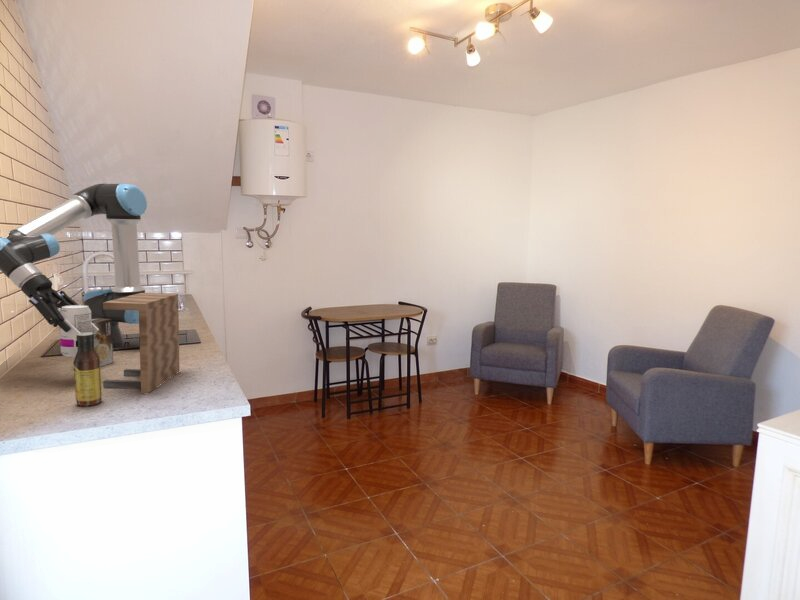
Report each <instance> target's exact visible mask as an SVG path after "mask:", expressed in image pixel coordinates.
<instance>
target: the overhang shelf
mask: <svg viewBox="0 0 800 600" xmlns="http://www.w3.org/2000/svg"><path fill="white" fill-rule="evenodd" d="M103 309H108V310H139V324H138V331H139V332H138V333H139V334H138V335H139V366H140V368H125V369H123V376H124V377H140V380H133V379H132V380H131V379H130V380H125V379H105V380H103V381H102V387H103V388H106V389H110V388H111V389H140V394H141V393H149V392H150V391H152V390H153V389H154V390H156V389H157V388H158V387H157V386H159V385H160V384H162V383H163V382H164V381H166V380H167V379H169V378H170V377H171V378H173V377H174V376H176V375H177V374H178V373H177V372H179V371H180V328H179V327H180V326H179V325H180V324H179V322H180V321H179V315H180V314H179V293H167V292H166V293H161V292H157V293H156V292H145V293H138V294H134V295H131V296H127V297H123V298H119V299H115V300H111V301H107V302H103ZM180 372H181V371H180ZM180 372H179V373H180ZM176 373H177V374H176ZM175 374H176V375H175ZM173 375H174V376H173ZM172 376H173V377H172ZM171 378H170V379H171ZM170 379H169V380H170ZM167 381H168V380H167ZM167 381H166V382H167ZM164 383H165V382H164ZM164 383H163V384H164ZM163 384H162V385H163ZM160 386H161V385H160ZM160 386H159V387H160ZM156 387H157V388H156ZM103 388H102V389H103ZM155 388H156V389H155ZM154 390H153V391H154ZM153 391H152V392H153ZM150 393H151V392H150ZM150 393H149V394H150Z"/></svg>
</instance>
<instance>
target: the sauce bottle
mask: <svg viewBox="0 0 800 600" xmlns="http://www.w3.org/2000/svg"><path fill="white" fill-rule="evenodd" d="M76 336H77V337H76V339H77V341H78V348H77V349H78V351H77V354H76V357H75V358H74V360H73V362H72V363H73V364H72V365H73V379H74V383H73V384H74V395H75V401H76V404H77V406H79V405H80V406H82V407H90V406H89V405H92V406H95V405H98V404H100V403H101V402H102V399H103V398H102V396H103V390H102V389H103V388H102V387H103V384H102V373H101V367H100V358H99V355H98V354H97V353H96V351H95V350H94V341H93V339H94V333H92V332H84V333H78V334H77V335H76Z"/></svg>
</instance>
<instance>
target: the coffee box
mask: <svg viewBox="0 0 800 600" xmlns="http://www.w3.org/2000/svg"><path fill="white" fill-rule="evenodd" d="M91 322H92V323H93V324H94V325H95V326H96V327H97V328H98V329H99V330H98V331H97V332H96V333H95V334H94V339H93V341H94V350H95V351H96V353H97V354H98V355H99V358H100V368H101V367H104V366H106V365H110V364H113V363H114V348H113V341H112V322H111V319H104V318H94V319H91Z"/></svg>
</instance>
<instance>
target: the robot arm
mask: <svg viewBox="0 0 800 600" xmlns="http://www.w3.org/2000/svg"><path fill="white" fill-rule="evenodd" d="M147 207H148V201H147V197H146V196H145V193H144V192H143V191H142V190H141V188H140V187H138V186H137V185H134V184H129V183H96V184H93V185H90V186H88V187H86V188H83V189H82V190H79V191H77V192H75V193H74V194H71V195H69V196H68V198H67V201H65V202H63V203H60V204H59V205H57V206H55V207H53V208H52V209H50V210H48V211H46V212H44V213H42V214H40V215H38V216H36V217H34V218H33V219H31V220H29V221H27V222H24V223H23V224H21V225H19V226H17V227H16V228H13V229H12V230H9V231H10V233H9V236H8V237H7V238H2V237H0V272H2V273H3V274H4V275H5V277H7V278H8V279H9V280H10V281H11V282H12V283H13V285H14V286H16V287H18V289H20V290H21V292H22V293H23V294H24V295H26V297H28V298H29V300H28V302H29V303H30V304H31V305H32V306H34V307H35V309H36V310H37V311H38V312H39V313H40V315H41V316H42V318H44V319H45V320H46V322H47V323H48V324H49V325H51V326H52V327H54V328H57V327H59V328H60V327H61V328H62V329H63V330H64V331H65V332H66V333H67V334H68V335H69V336H70V337H71V338H72V339H73V340H74V341H77V339H76V337H77V336H76V335H77V334H78V333H80V332H79V331H78V330H77V329H76V328H75V327H74V326H73V325H72V324H71V323H70V322H69V321H68V320H67V319H65V320H64V319H63V317H62V315H61V314H60V310H59V309H58V308H60V309H61V308H62V307H63V306H69V305H79V304H78V303H77V302H76V301H75V300H74V299H72V298H71V297H69V295H67V293H66V292H65V291H64V290H60V291H59V292H58V291H57V290H55V289H53V288H52V286H53V282H52V281H51V280H50V279H49V278H48V276H46V275H45V274H43V272H42V271H41V270H40V269H39V267H37V266H36V265H35V264H34V263H37V262H39V261H44V260H47V259H50V258H52V257H55V256H56V255H58V254H59V253H60V249H61V246H60V244H59V241H58V239H57V238H56V236H54V235H56V234H57V233H59V232H61V231H63V230H64V229H66V228H68V227H70V226H71V225H74V223H77V222H78V221H80V220H81V219H84V220H87V219H90V218H91V217H93V216H98V215H105V219H106V221H108V222H109V223H110V225H111V237H112V253H113V254H112V255H113V267H114V279H115V280H114V282H115V286H114V287H113V288H105V289H95V290H89V291H86V292H85V293H84V294H83V305H86V306H89V308H90V310H91V319H94V318H104V319H111V322H112V341H113V349H114V348H119V347H122V346H124V345H125V339H124V336H123V334H122V333H123V332H121V328H120V326H119V323H121V324H122V323H124V324H127V325H128V324H129V325H133V324H135V325H137V324H138V325H139V310H108V309H103V302H107V301H111V300H115V299H119V298H123V297H127V296H131V295H134V294H138V293H146V289H145V287H144V286H142V284H141V275H140V259H139V258H140V257H139V242H138V241H139V240H138V224H139V222H141V216H142V215H143V214H145V212H146V210H147ZM63 320H64V321H63ZM91 324H92V333H94V334H95V333H96V332H97V331H98V330H99V329H98V328H97V327H96V326H95V325H94V324H93V323H92V322H91Z"/></svg>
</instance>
